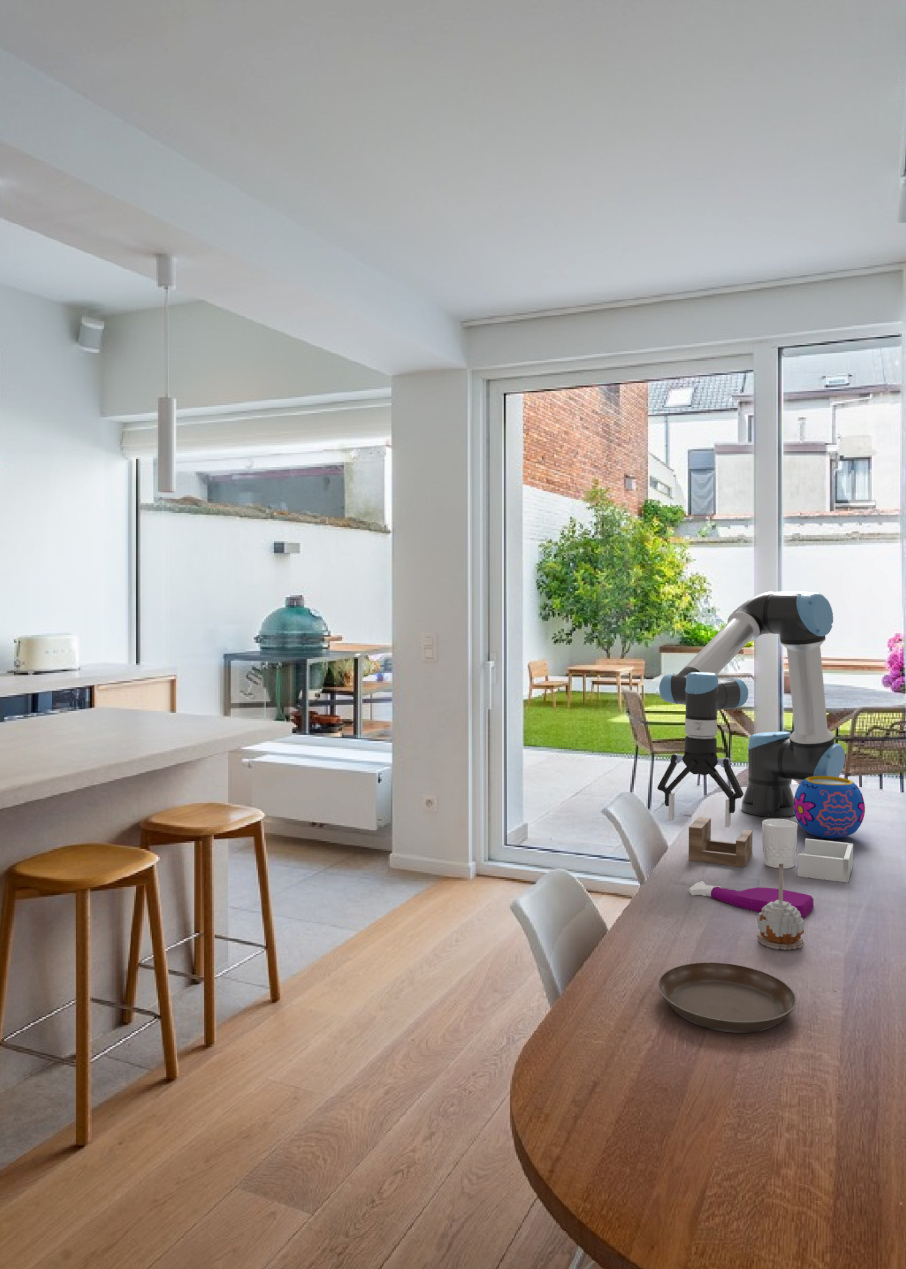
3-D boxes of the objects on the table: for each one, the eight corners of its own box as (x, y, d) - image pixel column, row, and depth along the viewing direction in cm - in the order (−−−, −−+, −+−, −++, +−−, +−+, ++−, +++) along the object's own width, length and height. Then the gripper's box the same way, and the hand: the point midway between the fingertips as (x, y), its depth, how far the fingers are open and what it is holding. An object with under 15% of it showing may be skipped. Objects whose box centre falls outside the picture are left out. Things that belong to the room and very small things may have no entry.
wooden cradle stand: (698, 848, 236) (698, 816, 235) (752, 854, 230) (752, 822, 229) (688, 860, 226) (688, 827, 225) (744, 867, 220) (744, 833, 220)
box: (805, 858, 226) (805, 838, 226) (852, 864, 221) (853, 843, 221) (797, 876, 213) (798, 854, 213) (848, 882, 208) (848, 860, 208)
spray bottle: (801, 923, 184) (682, 901, 199) (817, 908, 193) (702, 887, 208) (801, 908, 184) (682, 887, 199) (817, 894, 193) (701, 874, 207)
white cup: (790, 871, 216) (791, 828, 216) (756, 865, 221) (757, 823, 220) (801, 863, 222) (802, 821, 222) (768, 858, 227) (768, 817, 227)
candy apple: (767, 933, 178) (768, 855, 177) (808, 943, 173) (810, 862, 172) (751, 945, 172) (752, 864, 171) (793, 956, 167) (795, 872, 166)
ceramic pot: (851, 828, 254) (852, 773, 253) (874, 846, 237) (875, 787, 236) (785, 827, 256) (785, 772, 255) (802, 845, 238) (803, 786, 238)
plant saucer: (808, 1046, 135) (808, 1023, 135) (660, 1035, 138) (661, 1013, 138) (783, 986, 155) (783, 966, 155) (655, 978, 159) (655, 958, 159)
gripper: (646, 734, 231) (644, 820, 232) (751, 742, 220) (749, 832, 220) (653, 730, 237) (652, 814, 238) (756, 737, 226) (754, 825, 227)
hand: (699, 823), depth 229 cm, fingers open, 13 cm apart
